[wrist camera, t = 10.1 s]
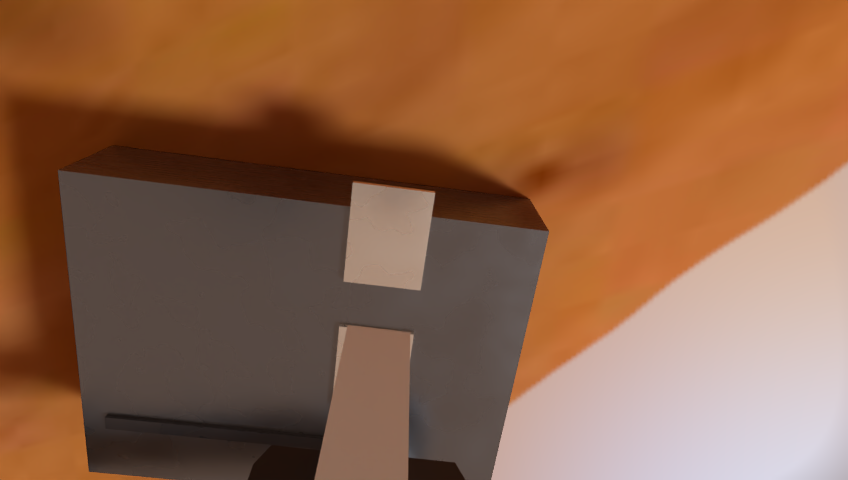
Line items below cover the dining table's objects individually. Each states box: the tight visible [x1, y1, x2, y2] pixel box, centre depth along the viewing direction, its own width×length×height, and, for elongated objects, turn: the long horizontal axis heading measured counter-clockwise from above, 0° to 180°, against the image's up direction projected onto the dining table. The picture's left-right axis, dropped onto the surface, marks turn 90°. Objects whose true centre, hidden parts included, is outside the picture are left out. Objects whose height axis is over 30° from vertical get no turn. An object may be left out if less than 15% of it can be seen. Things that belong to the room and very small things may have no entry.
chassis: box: [58, 146, 549, 480], centre depth 23 cm, size 18×16×9 cm
